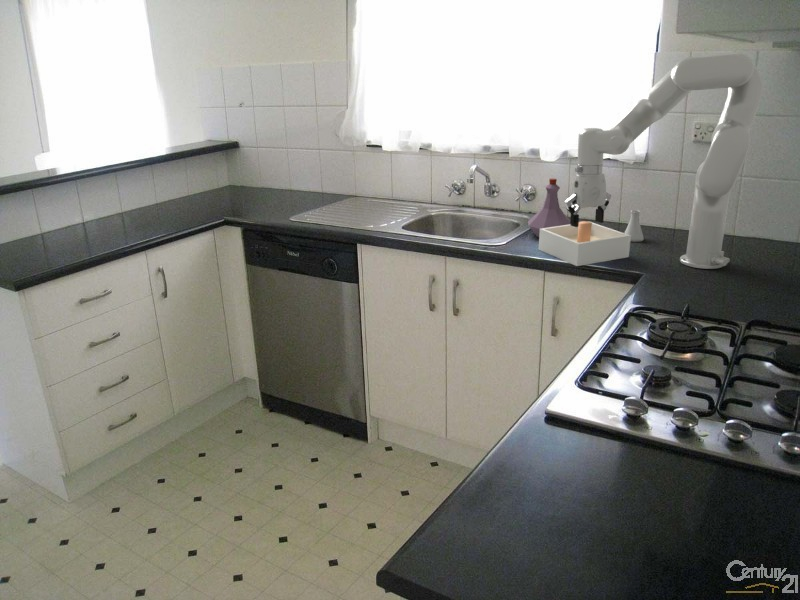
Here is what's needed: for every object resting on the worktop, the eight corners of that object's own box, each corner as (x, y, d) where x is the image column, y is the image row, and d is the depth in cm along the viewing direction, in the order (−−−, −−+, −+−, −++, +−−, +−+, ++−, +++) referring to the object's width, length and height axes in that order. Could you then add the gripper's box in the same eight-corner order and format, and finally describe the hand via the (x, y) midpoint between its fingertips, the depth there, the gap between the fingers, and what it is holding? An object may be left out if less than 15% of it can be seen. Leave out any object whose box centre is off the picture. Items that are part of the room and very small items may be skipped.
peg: (591, 253, 216) (594, 223, 213) (581, 255, 215) (584, 225, 211) (583, 250, 220) (586, 220, 216) (573, 252, 218) (575, 222, 215)
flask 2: (645, 242, 227) (648, 213, 223) (622, 242, 228) (625, 213, 225) (642, 237, 233) (645, 208, 230) (620, 236, 235) (623, 208, 231)
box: (628, 257, 212) (630, 235, 210) (576, 266, 205) (578, 244, 202) (587, 241, 230) (589, 221, 227) (538, 249, 222) (539, 228, 220)
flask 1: (559, 228, 247) (562, 173, 240) (582, 239, 232) (587, 181, 225) (518, 232, 243) (520, 176, 235) (539, 244, 228) (542, 185, 221)
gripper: (574, 174, 201) (571, 230, 207) (620, 168, 208) (616, 222, 214) (559, 171, 208) (557, 225, 214) (604, 165, 214) (600, 218, 220)
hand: (586, 224), depth 214 cm, fingers open, 9 cm apart
